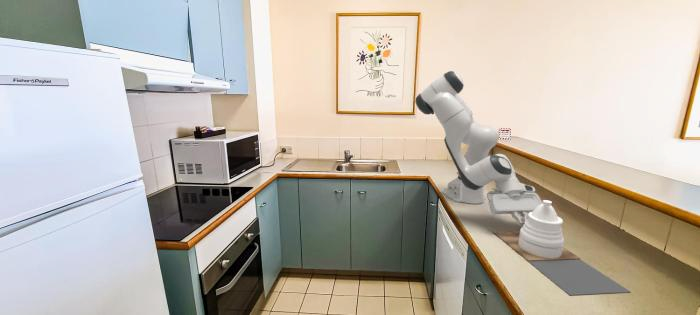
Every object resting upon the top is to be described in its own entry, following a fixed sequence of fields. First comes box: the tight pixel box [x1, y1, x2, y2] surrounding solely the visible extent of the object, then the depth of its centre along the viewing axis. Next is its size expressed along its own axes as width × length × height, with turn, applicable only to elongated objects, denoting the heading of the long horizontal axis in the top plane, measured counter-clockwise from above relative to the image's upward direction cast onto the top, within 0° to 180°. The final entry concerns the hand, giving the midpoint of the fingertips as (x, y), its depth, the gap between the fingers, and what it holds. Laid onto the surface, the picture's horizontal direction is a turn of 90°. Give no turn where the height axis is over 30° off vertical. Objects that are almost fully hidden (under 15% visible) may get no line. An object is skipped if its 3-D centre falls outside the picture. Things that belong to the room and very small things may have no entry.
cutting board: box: [493, 230, 581, 263], centre depth 103 cm, size 20×18×1 cm
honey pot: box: [518, 199, 565, 258], centre depth 98 cm, size 13×13×18 cm
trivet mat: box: [528, 258, 631, 297], centre depth 85 cm, size 16×18×1 cm
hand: (522, 223), depth 108 cm, fingers closed
